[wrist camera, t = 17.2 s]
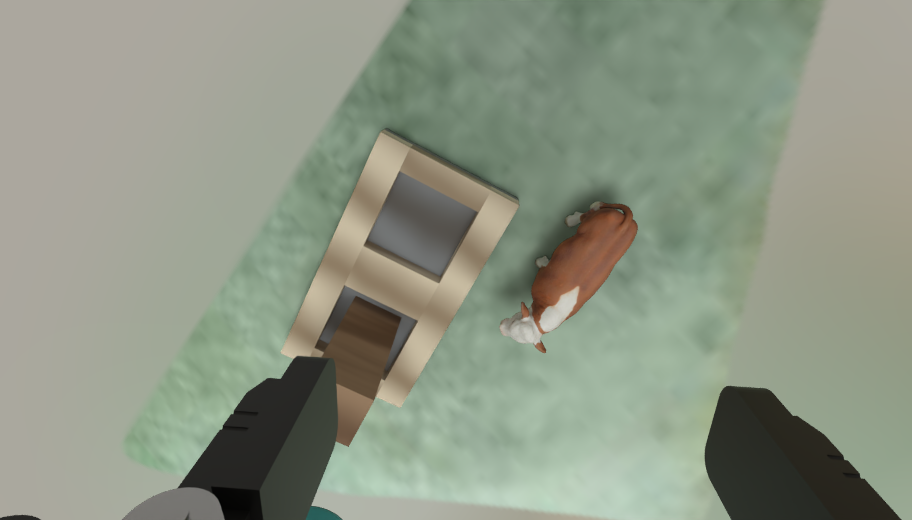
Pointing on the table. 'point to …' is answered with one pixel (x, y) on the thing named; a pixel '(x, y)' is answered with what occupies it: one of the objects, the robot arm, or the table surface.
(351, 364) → the walnut block
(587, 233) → the bull figurine
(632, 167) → the table surface
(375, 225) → the puzzle board
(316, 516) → the cup
